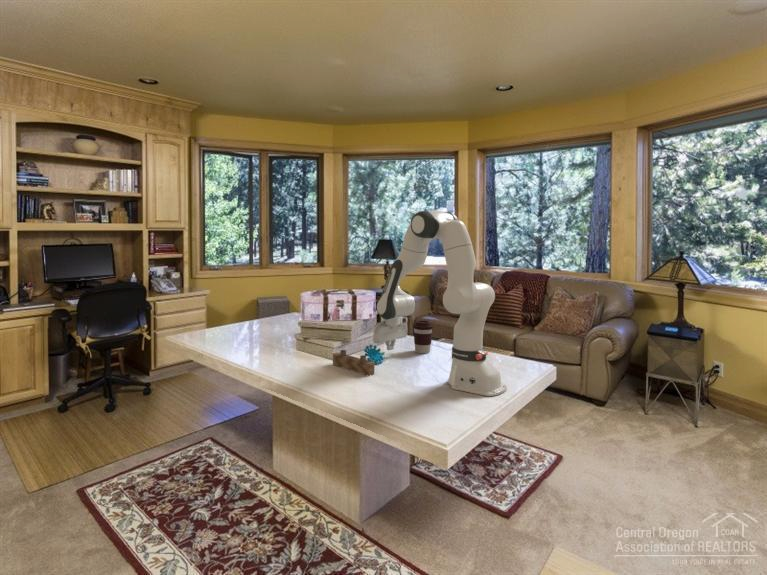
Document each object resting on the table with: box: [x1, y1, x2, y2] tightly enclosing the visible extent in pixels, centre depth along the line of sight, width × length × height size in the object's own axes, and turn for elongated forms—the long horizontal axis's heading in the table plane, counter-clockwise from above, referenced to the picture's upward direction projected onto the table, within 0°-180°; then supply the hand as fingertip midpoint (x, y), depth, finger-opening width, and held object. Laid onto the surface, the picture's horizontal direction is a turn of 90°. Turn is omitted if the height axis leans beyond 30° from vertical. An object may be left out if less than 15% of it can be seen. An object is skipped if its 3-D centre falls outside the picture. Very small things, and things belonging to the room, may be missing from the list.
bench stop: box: [332, 349, 375, 377], centre depth 189 cm, size 22×3×7 cm, turn 48°
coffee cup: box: [412, 320, 434, 355], centre depth 218 cm, size 10×10×15 cm
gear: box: [363, 344, 386, 365], centre depth 200 cm, size 11×6×10 cm
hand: (390, 349), depth 206 cm, fingers closed
